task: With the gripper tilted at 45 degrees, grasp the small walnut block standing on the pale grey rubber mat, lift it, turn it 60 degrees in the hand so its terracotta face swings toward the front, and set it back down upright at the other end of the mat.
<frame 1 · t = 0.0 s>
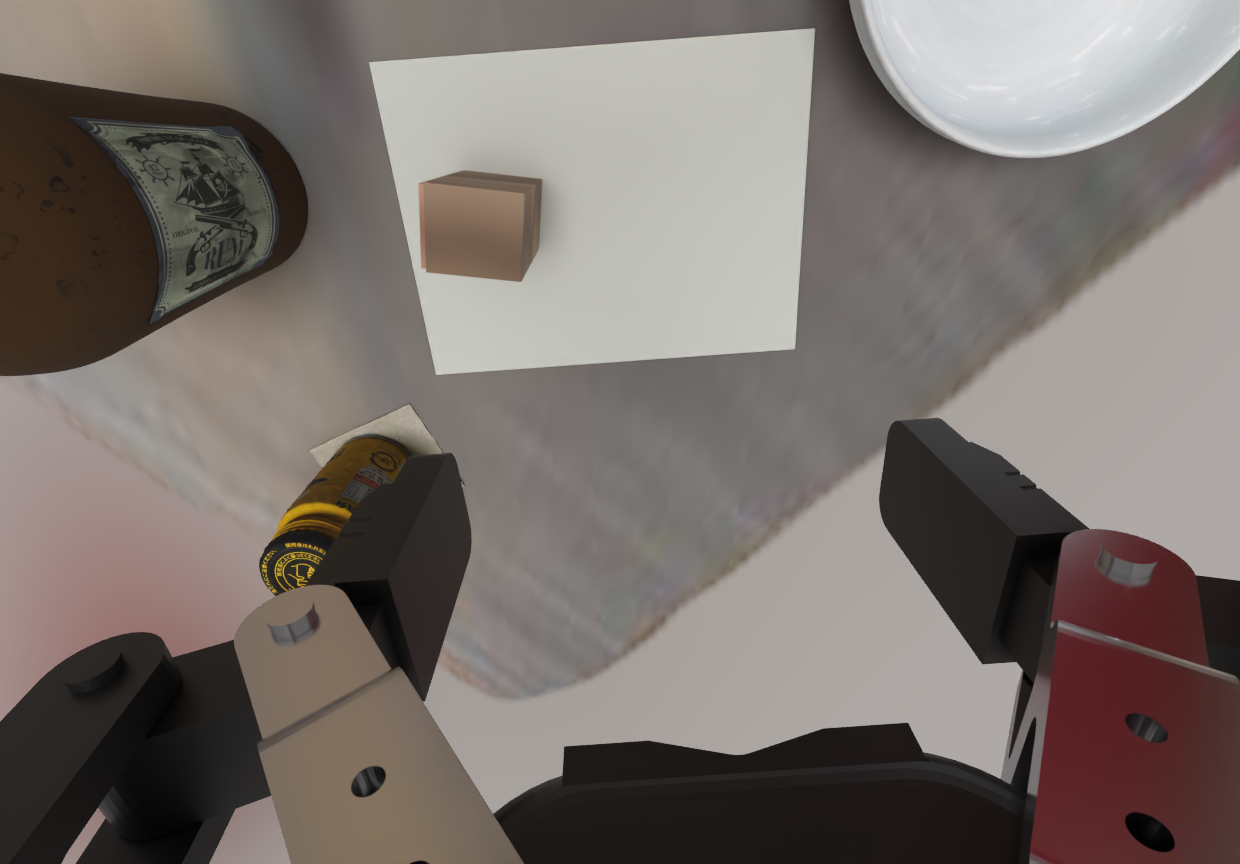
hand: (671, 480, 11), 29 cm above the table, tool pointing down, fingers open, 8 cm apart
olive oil: (230, 193, 36), on the table
walnut block: (502, 210, 36), resting on rubber mat
rubber mat: (604, 219, 37), on the table
condiment: (389, 465, 45), on the table
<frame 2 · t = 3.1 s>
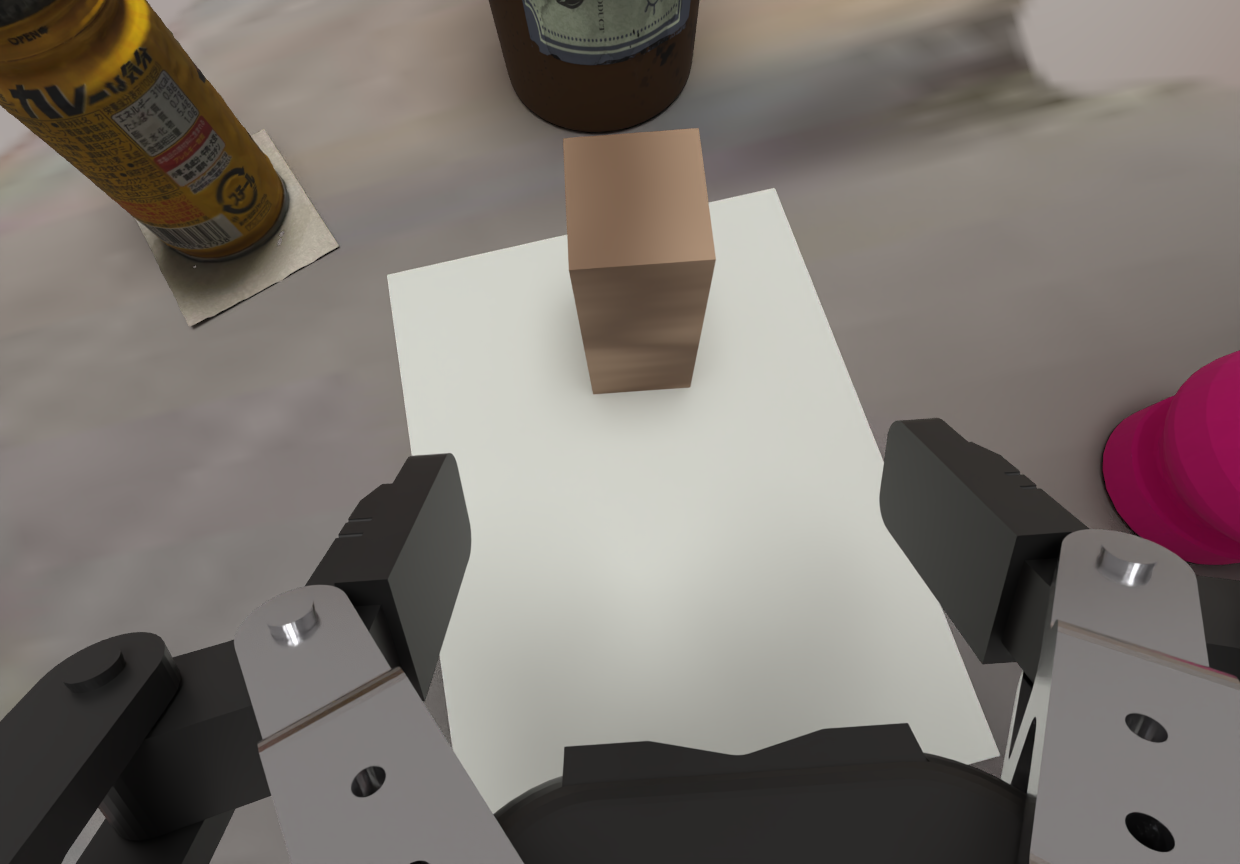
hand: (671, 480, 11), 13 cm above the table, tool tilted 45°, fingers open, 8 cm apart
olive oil: (599, 67, 32), on the table
walnut block: (637, 341, 26), resting on rubber mat
rubber mat: (650, 483, 24), on the table
condiment: (235, 227, 29), on the table
pepper mill: (1180, 484, 24), on the table
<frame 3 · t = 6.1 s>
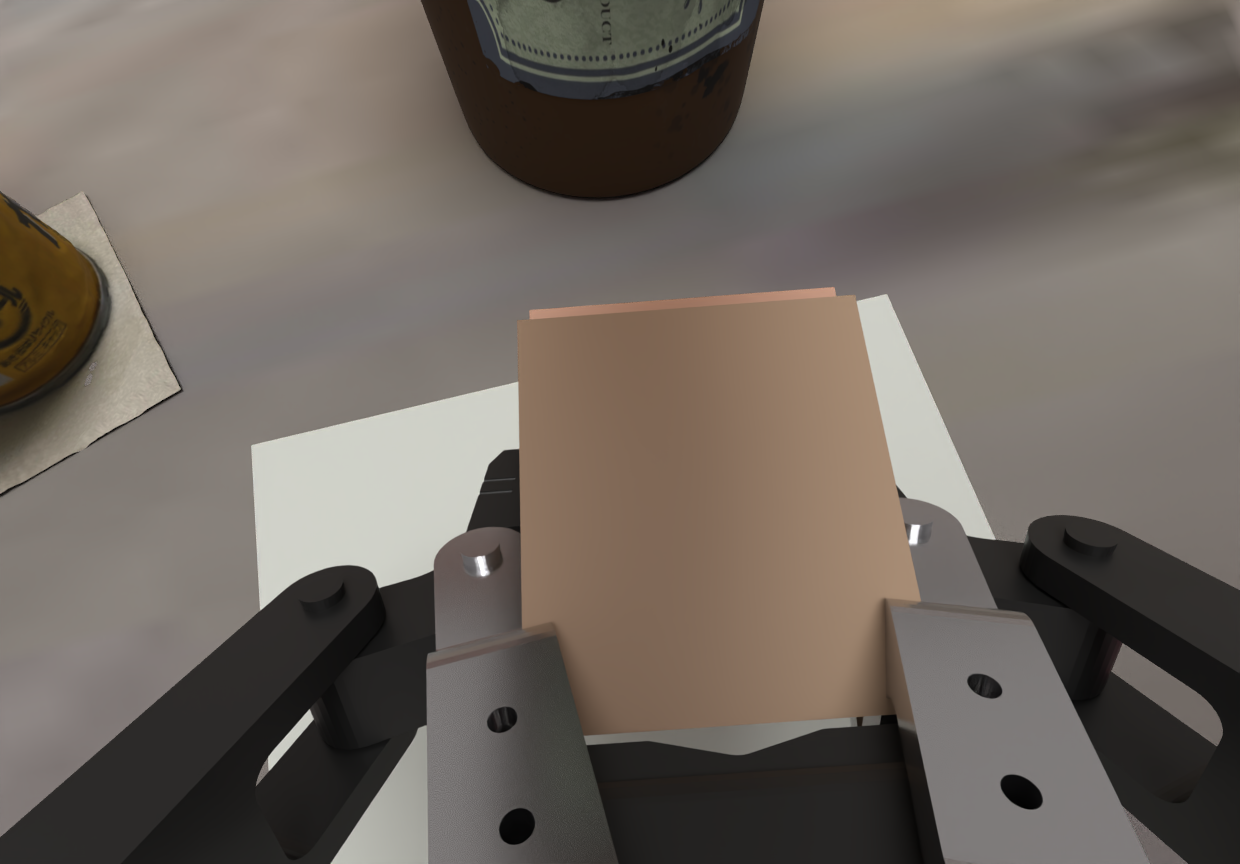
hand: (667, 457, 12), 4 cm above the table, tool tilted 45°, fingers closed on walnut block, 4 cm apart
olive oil: (600, 93, 21), on the table
walnut block: (669, 574, 15), resting on rubber mat, touching gripper
rubber mat: (696, 857, 14), on the table
condiment: (24, 353, 18), on the table
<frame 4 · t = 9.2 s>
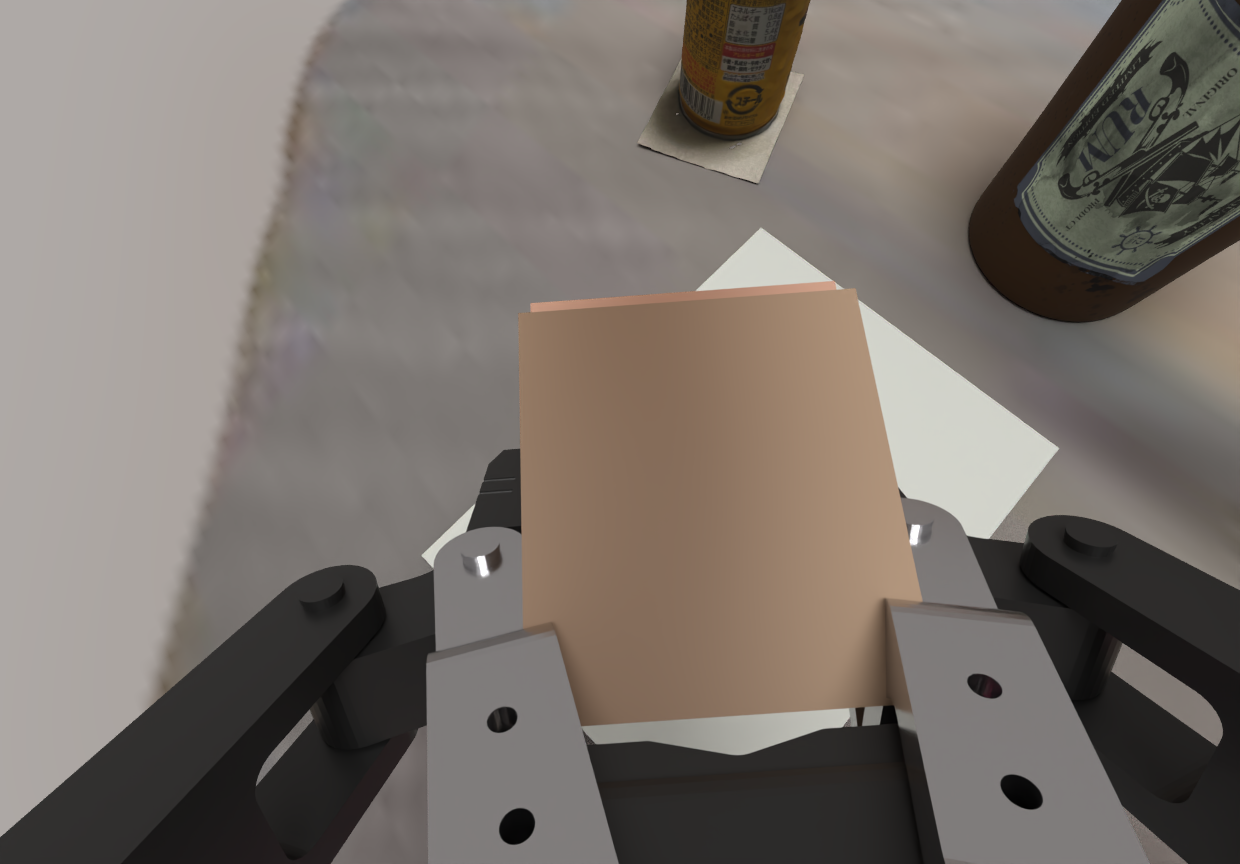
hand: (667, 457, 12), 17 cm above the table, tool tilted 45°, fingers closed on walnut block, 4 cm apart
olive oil: (1053, 247, 33), on the table
walnut block: (669, 570, 15), point 13 cm above the table, touching gripper
rubber mat: (743, 502, 29), on the table
condiment: (721, 114, 36), on the table
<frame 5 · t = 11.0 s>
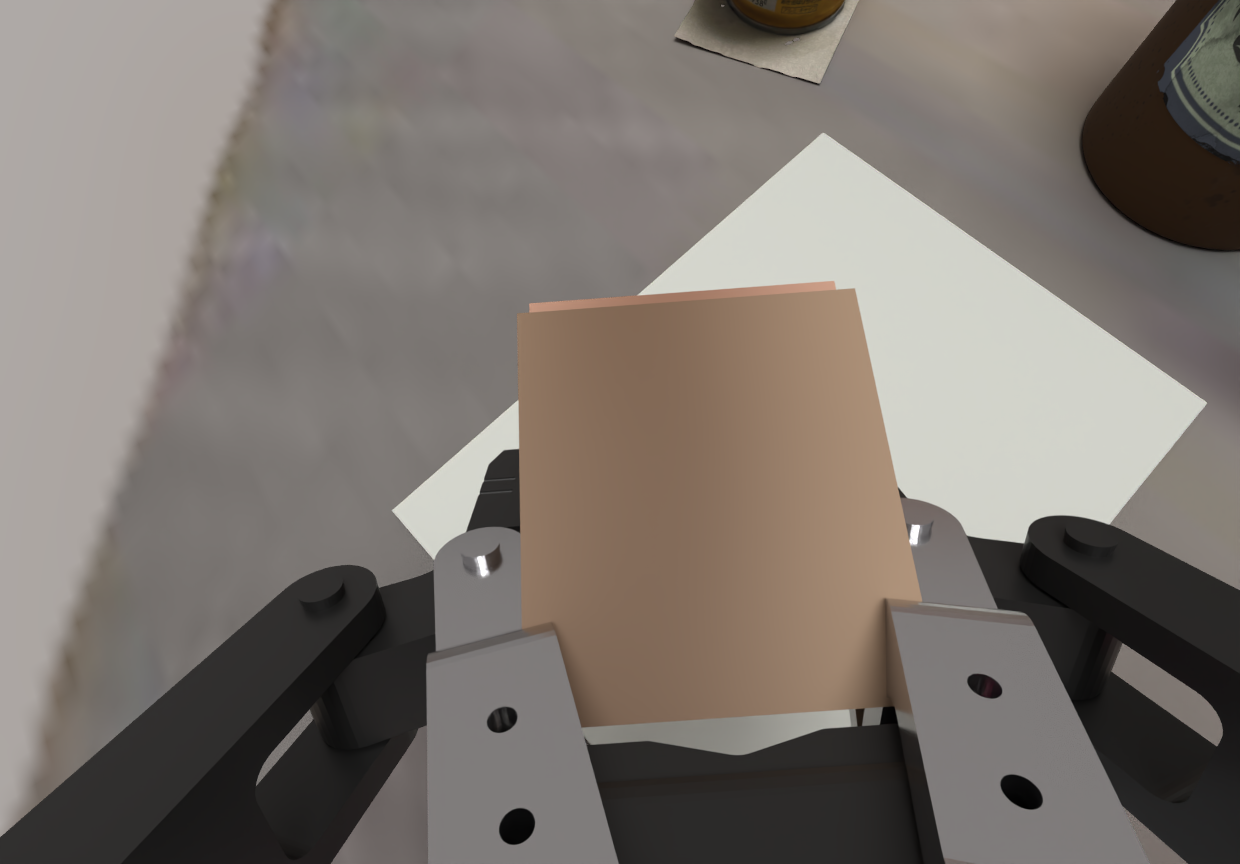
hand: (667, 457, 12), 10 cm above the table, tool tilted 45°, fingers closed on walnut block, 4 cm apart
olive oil: (1187, 163, 26), on the table
walnut block: (669, 570, 15), point 7 cm above the table, touching gripper
rubber mat: (797, 459, 23), on the table
condiment: (775, 7, 30), on the table
when the fingers open (5 cm above the table, at t = 12.5 s): walnut block drops 1 cm, resting on rubber mat.
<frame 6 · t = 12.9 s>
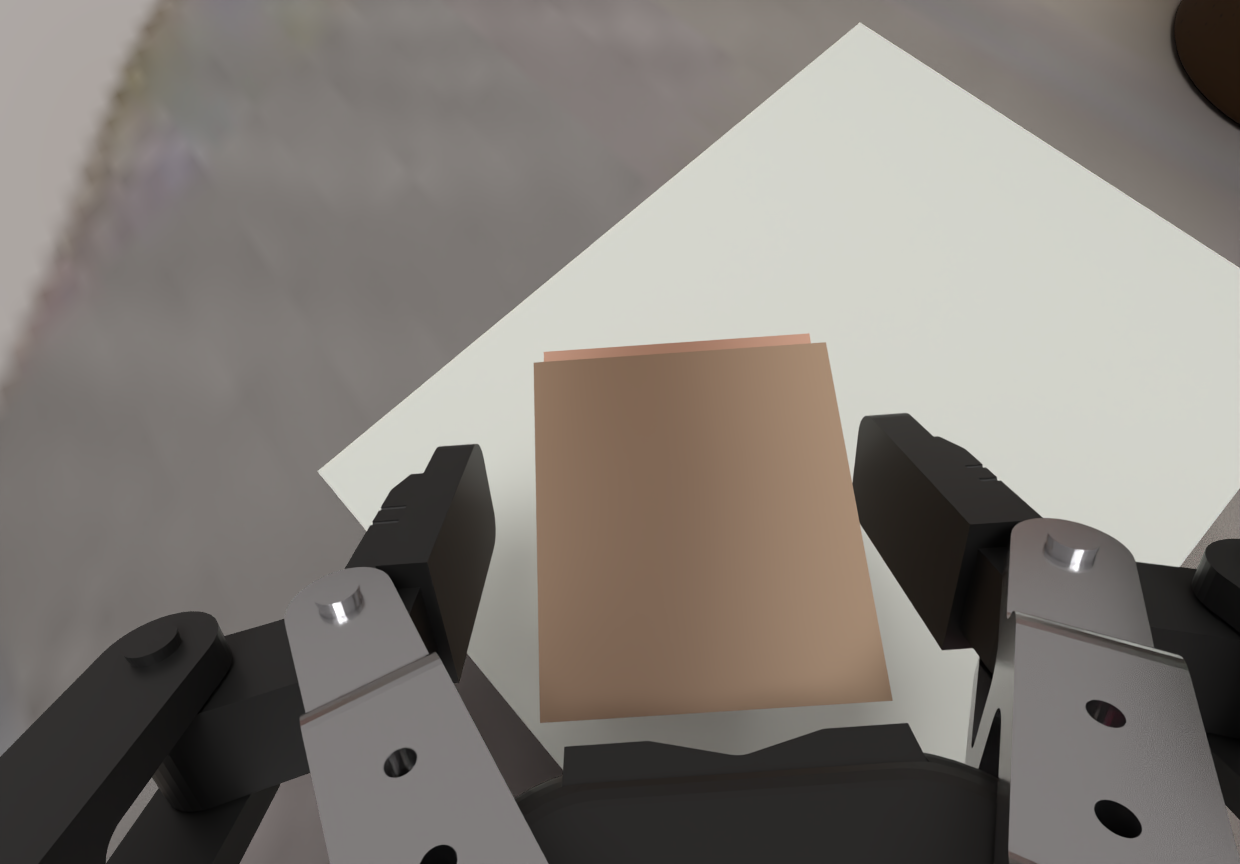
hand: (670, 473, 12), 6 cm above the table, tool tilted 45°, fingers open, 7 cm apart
walnut block: (666, 579, 16), resting on rubber mat
rubber mat: (834, 410, 18), on the table
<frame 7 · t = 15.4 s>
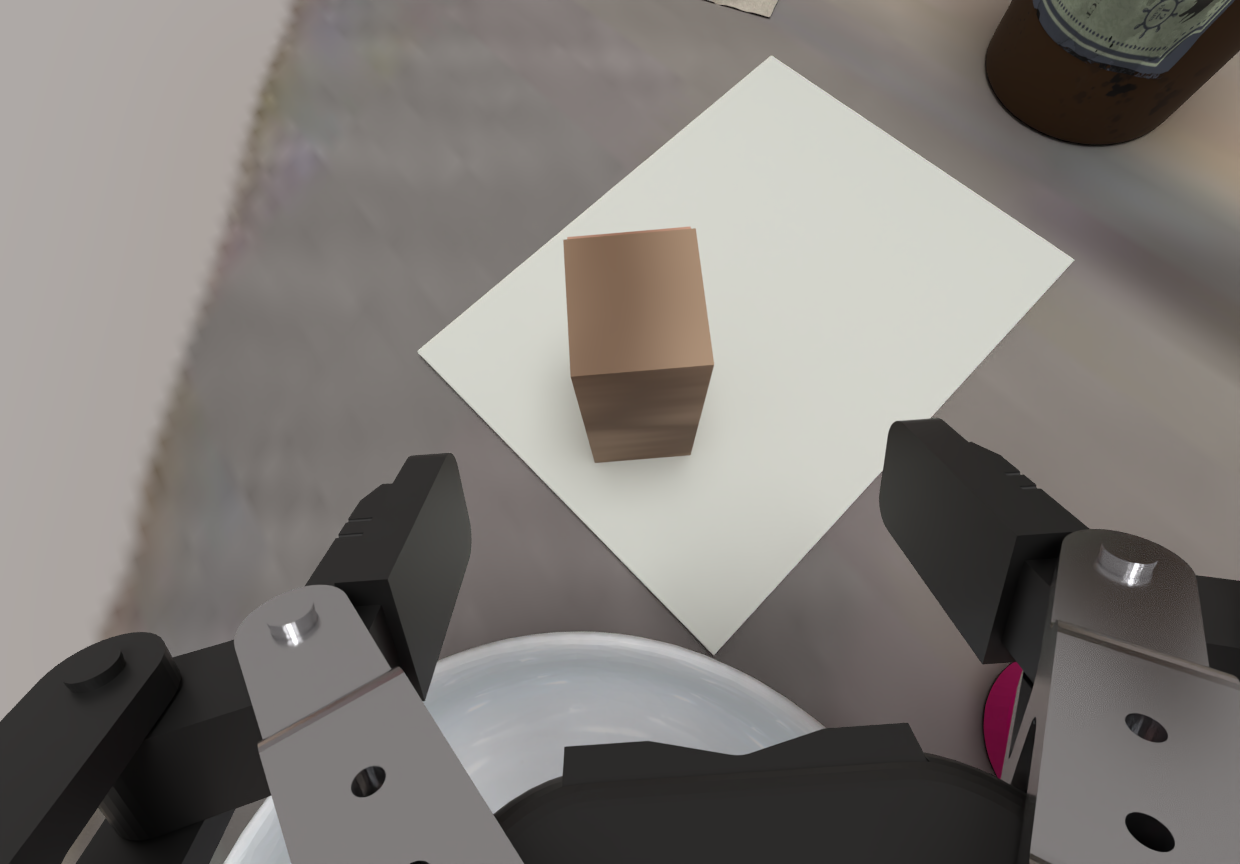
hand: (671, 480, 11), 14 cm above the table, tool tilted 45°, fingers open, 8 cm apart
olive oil: (1073, 78, 32), on the table
walnut block: (638, 408, 26), resting on rubber mat
rubber mat: (745, 309, 28), on the table
pepper mill: (1067, 740, 22), on the table
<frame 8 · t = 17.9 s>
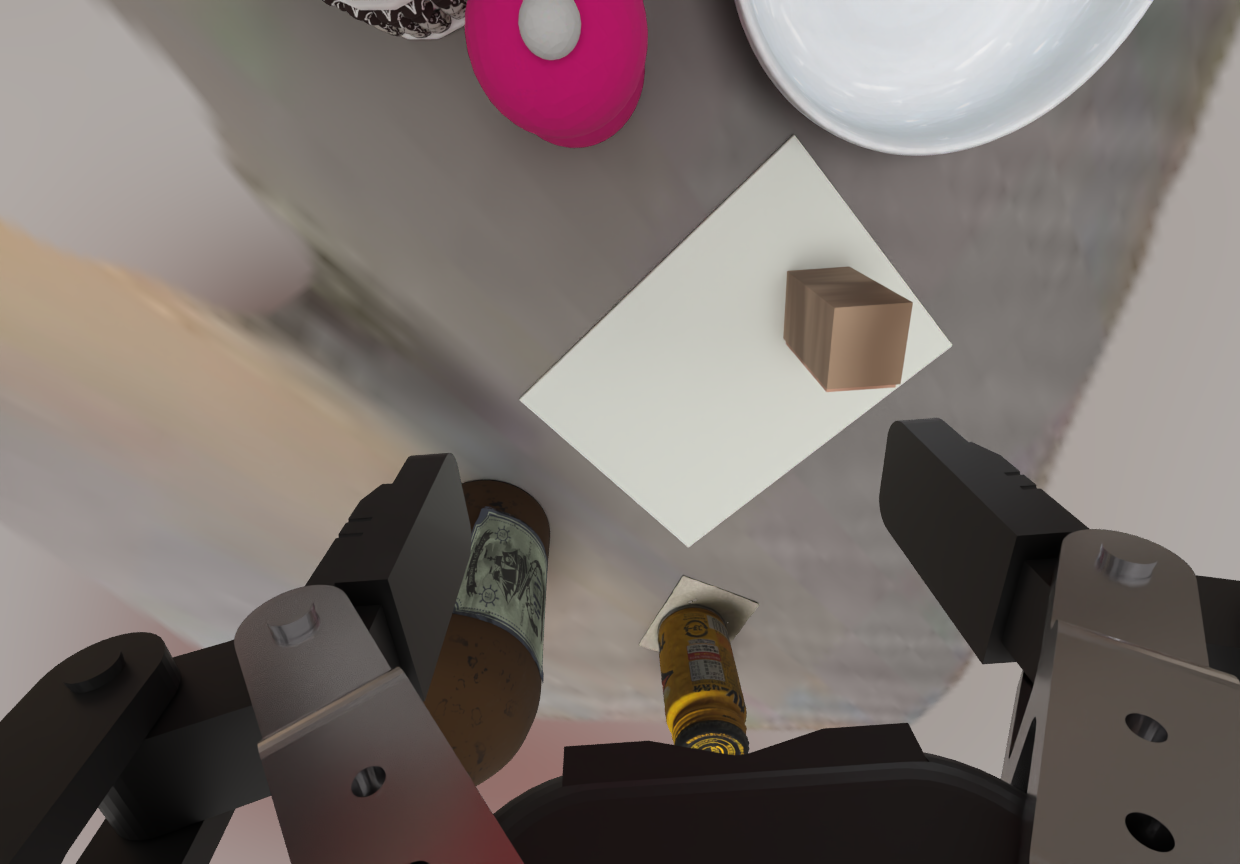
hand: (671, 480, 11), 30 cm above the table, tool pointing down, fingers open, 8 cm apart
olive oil: (492, 528, 48), on the table
walnut block: (815, 303, 40), resting on rubber mat
rubber mat: (732, 371, 43), on the table
condiment: (697, 621, 53), on the table
pepper mill: (576, 75, 35), on the table
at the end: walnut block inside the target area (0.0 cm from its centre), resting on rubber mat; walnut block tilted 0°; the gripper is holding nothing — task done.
